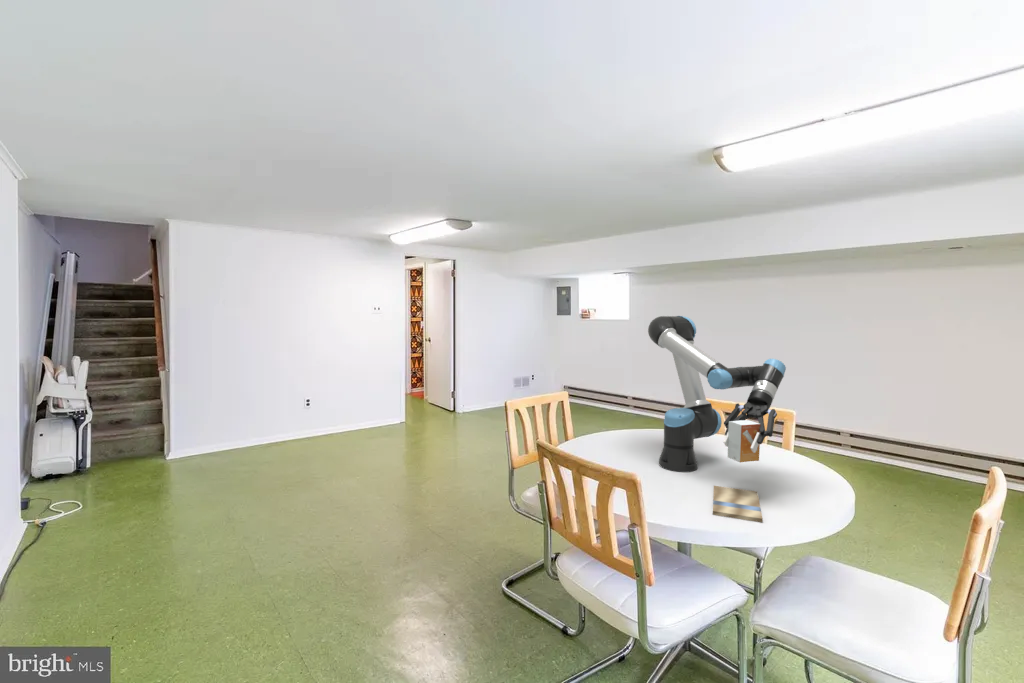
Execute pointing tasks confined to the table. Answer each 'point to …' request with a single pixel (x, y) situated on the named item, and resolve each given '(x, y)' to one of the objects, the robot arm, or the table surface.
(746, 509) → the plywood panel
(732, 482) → the table surface
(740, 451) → the small box
